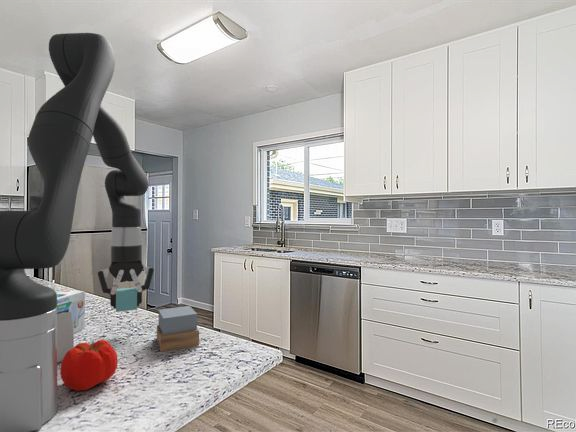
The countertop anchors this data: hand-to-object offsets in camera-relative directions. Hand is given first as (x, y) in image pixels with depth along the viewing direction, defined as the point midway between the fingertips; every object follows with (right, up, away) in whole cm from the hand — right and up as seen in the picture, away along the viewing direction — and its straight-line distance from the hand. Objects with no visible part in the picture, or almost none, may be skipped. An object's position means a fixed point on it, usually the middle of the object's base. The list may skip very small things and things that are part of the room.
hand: (126, 306), depth 91 cm
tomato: (+6, -8, -26) cm, 28 cm away
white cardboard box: (-9, -8, -15) cm, 19 cm away
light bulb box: (-18, -8, 0) cm, 20 cm away
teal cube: (0, -1, 0) cm, 1 cm away
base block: (+16, -8, -5) cm, 18 cm away
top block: (+15, -4, -5) cm, 17 cm away
